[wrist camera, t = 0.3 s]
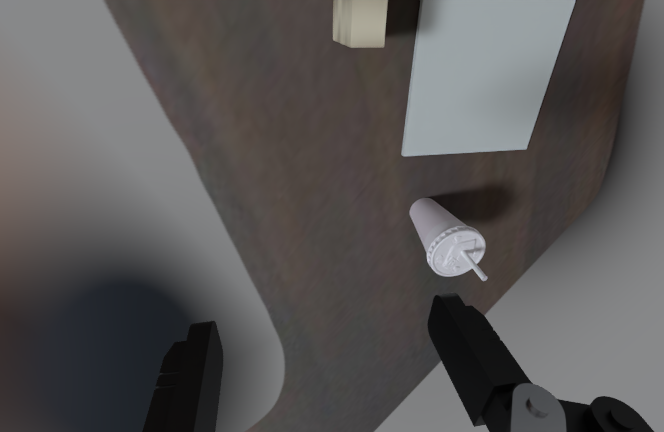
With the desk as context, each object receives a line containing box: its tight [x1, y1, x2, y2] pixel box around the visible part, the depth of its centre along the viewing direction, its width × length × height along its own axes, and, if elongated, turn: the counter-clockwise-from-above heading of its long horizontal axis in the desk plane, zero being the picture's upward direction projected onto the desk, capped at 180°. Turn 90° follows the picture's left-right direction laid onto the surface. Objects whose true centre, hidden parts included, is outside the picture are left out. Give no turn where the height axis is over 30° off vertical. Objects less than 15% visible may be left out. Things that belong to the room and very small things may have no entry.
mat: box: [401, 0, 576, 156], centre depth 35 cm, size 20×16×1 cm
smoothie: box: [410, 198, 487, 281], centre depth 38 cm, size 6×6×14 cm
